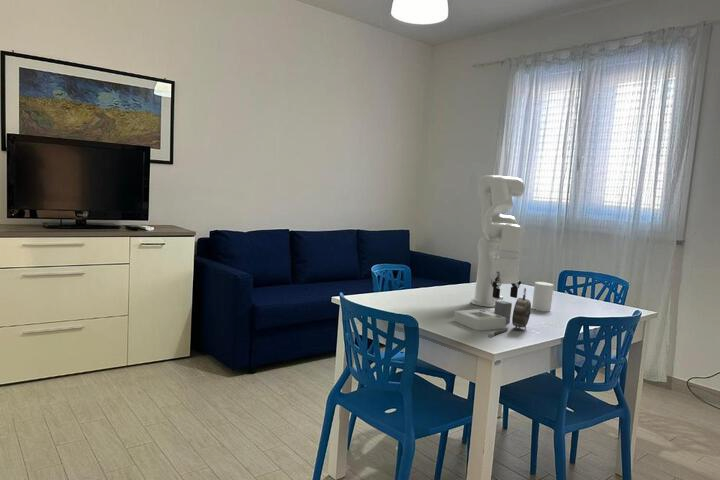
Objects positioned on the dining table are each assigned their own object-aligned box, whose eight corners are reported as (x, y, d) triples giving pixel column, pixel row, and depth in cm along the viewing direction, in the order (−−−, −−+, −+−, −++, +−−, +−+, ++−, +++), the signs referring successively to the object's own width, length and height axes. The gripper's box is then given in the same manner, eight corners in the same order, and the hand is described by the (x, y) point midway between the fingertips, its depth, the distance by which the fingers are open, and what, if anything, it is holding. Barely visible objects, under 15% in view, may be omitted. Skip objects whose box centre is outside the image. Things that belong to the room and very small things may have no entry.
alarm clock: (516, 325, 207) (521, 285, 206) (530, 327, 205) (535, 287, 203) (509, 330, 198) (514, 288, 196) (524, 333, 195) (529, 291, 194)
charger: (501, 319, 214) (503, 300, 213) (509, 322, 210) (511, 303, 210) (493, 320, 212) (495, 301, 211) (501, 323, 208) (503, 303, 207)
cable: (504, 330, 198) (505, 327, 198) (508, 331, 197) (508, 328, 197) (488, 336, 188) (488, 333, 187) (491, 337, 187) (491, 334, 186)
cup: (551, 309, 243) (554, 283, 242) (549, 312, 236) (552, 286, 235) (533, 306, 247) (536, 281, 245) (531, 309, 239) (533, 283, 238)
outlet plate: (480, 318, 213) (481, 308, 213) (505, 328, 201) (506, 317, 201) (453, 320, 206) (454, 310, 206) (477, 330, 194) (479, 319, 194)
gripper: (517, 254, 216) (513, 295, 217) (486, 253, 207) (482, 296, 208) (531, 256, 209) (527, 299, 210) (499, 256, 201) (495, 300, 202)
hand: (504, 297), depth 209 cm, fingers open, 9 cm apart
